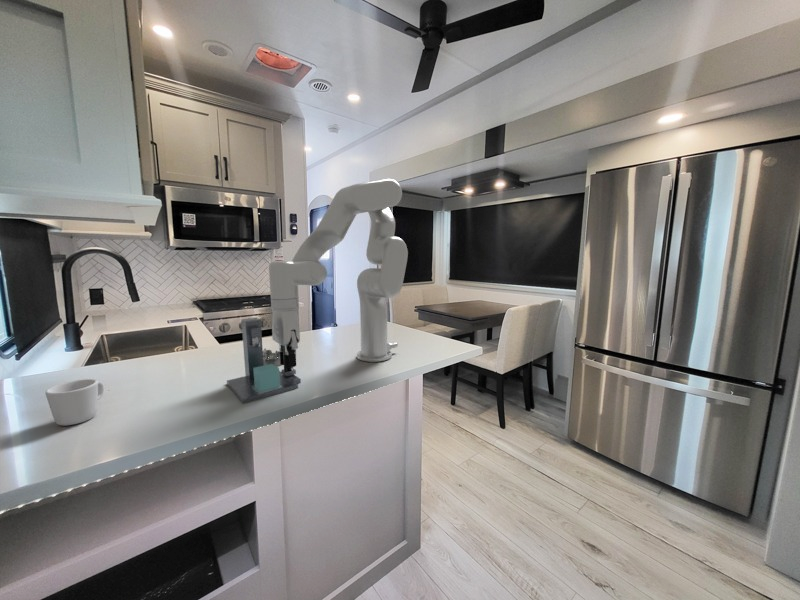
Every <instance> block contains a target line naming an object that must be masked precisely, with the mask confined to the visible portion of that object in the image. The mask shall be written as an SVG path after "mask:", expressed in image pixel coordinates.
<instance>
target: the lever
mask: <svg viewBox="0 0 800 600" xmlns="http://www.w3.org/2000/svg"><path fill="white" fill-rule="evenodd" d="M289 343H291V342H289ZM289 347H291V346H288V349H289ZM284 355H286V354H285V346H283V361H284ZM281 371H282V374H283V375H284V376H290V375H296V374H297V372H296V371H297V370H296V369H294V367H291V368H285V361H284V365H283V369H281Z"/></svg>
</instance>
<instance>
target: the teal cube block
mask: <svg viewBox="0 0 800 600" xmlns="http://www.w3.org/2000/svg"><path fill="white" fill-rule="evenodd" d="M253 370H254V385H255V387H256V388H257V389H258V390H259V391H265V390H269V389H272V388H276V387H280V375H279V371H280V368H279V366H278V367H276V366H275V365H274V364H269V365H264V366H260V367H255V368H253Z"/></svg>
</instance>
